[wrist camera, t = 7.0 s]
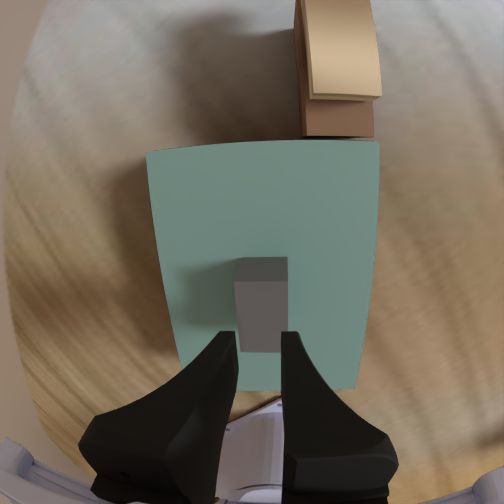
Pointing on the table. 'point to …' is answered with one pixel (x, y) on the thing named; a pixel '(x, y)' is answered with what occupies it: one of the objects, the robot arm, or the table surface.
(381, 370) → the table surface
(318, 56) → the tan wooden block
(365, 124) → the wooden tray
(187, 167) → the lid
